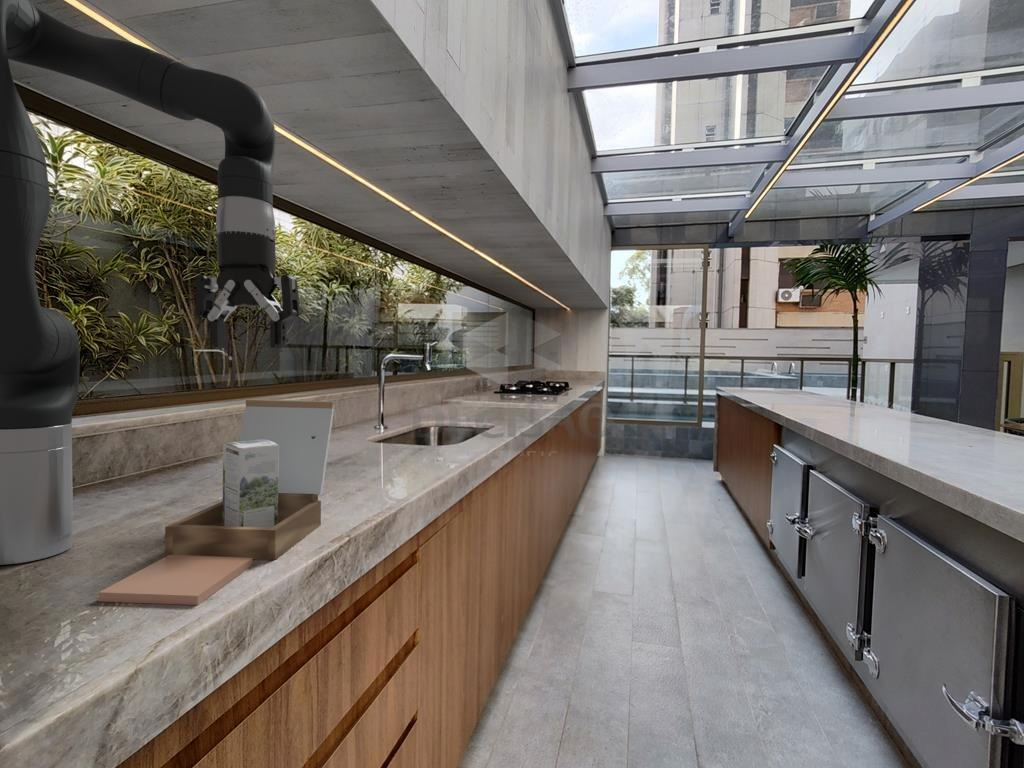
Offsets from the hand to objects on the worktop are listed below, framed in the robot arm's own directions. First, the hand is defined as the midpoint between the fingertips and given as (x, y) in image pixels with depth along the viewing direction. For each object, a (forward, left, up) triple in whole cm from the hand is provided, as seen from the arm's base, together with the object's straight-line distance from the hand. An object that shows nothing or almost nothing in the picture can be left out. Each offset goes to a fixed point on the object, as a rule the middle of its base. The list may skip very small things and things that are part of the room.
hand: (248, 348), depth 75 cm
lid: (0, +11, -23) cm, 26 cm away
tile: (0, -15, -28) cm, 32 cm away
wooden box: (0, +2, -28) cm, 28 cm away
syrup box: (0, 0, -29) cm, 29 cm away
